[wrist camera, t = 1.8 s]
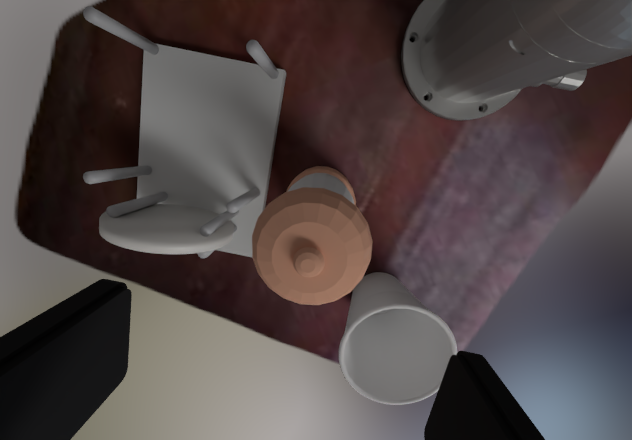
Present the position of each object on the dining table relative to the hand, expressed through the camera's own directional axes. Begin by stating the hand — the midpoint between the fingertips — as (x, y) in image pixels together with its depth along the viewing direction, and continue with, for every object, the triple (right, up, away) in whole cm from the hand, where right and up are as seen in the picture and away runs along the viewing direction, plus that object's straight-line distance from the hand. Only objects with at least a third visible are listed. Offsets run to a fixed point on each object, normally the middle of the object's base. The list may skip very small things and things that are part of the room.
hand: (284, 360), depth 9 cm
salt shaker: (+1, +6, +25) cm, 26 cm away
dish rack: (-11, +11, +24) cm, 29 cm away
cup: (+8, -5, +27) cm, 29 cm away
